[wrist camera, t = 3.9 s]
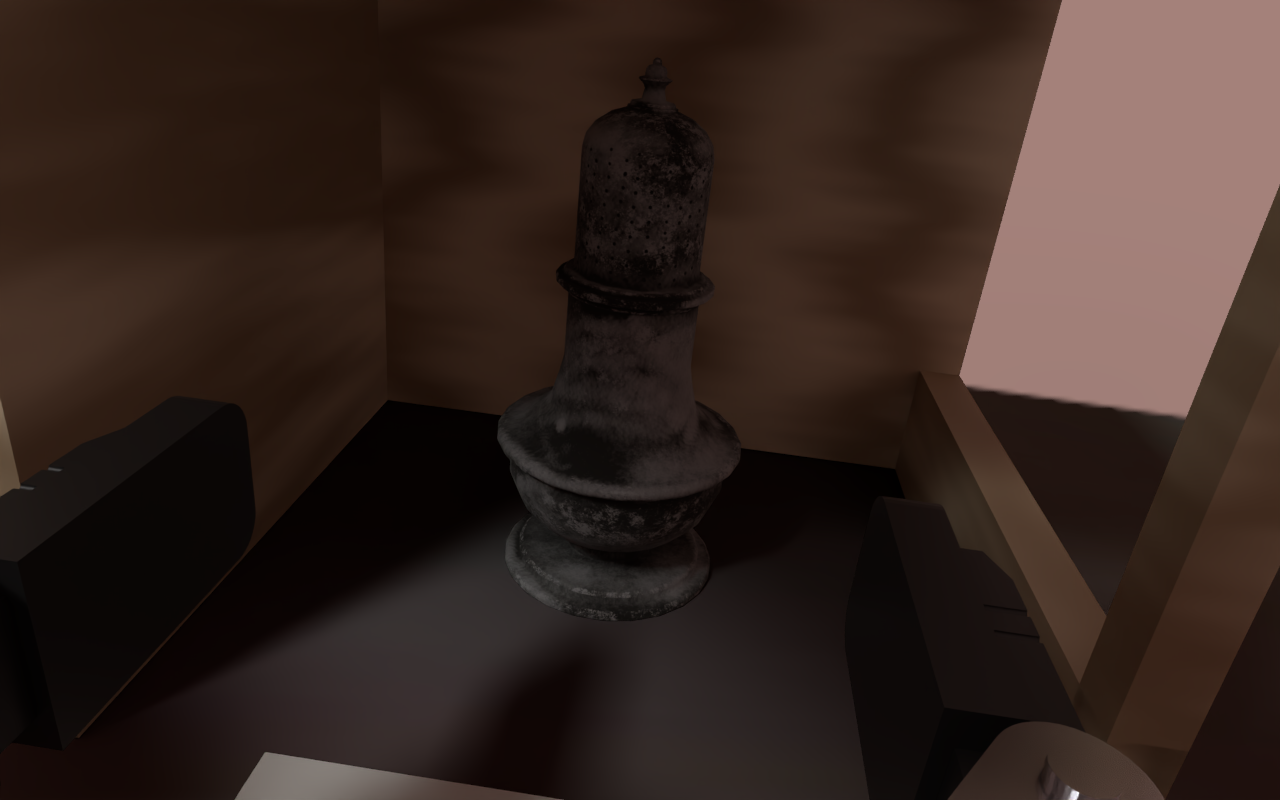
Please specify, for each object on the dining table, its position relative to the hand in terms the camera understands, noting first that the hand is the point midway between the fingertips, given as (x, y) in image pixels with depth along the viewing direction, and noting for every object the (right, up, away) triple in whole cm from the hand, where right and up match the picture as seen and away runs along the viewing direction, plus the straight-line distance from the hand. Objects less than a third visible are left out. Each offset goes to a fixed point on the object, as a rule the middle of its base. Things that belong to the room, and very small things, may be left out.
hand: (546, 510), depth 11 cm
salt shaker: (0, -3, +11) cm, 12 cm away
